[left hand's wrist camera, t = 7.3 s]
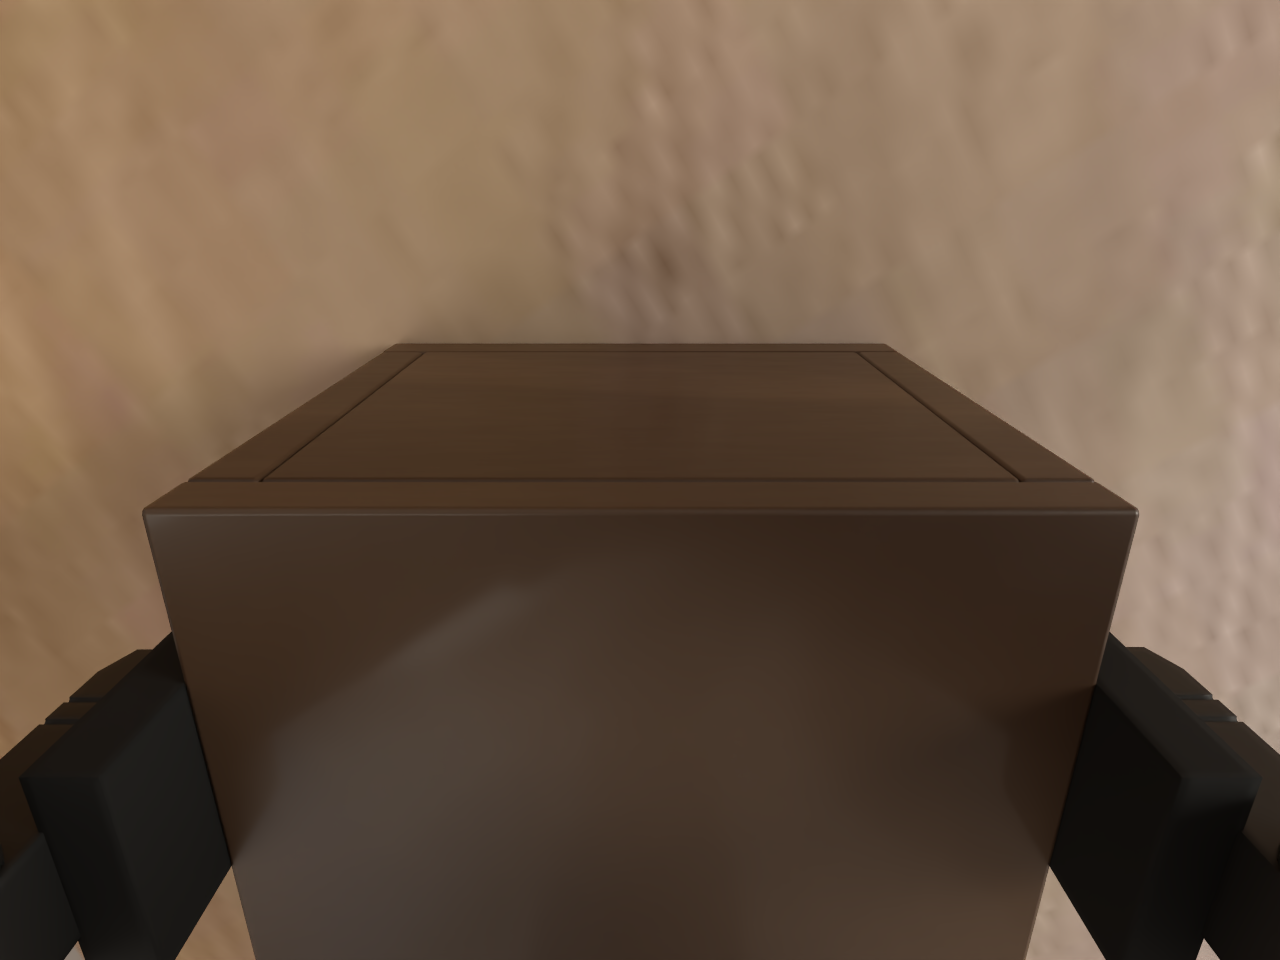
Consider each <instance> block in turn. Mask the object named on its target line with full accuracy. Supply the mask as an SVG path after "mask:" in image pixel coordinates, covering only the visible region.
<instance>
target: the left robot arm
mask: <svg viewBox="0 0 1280 960" xmlns="http://www.w3.org/2000/svg"><path fill="white" fill-rule="evenodd" d="M1236 718H1237V716H1236V715H1235V714H1233V713H1232V712H1231V711H1230V710H1229V709H1228V708H1227V707H1226V706H1224V705H1223V704H1222V703H1221V702H1220V701H1219V700H1213V698H1212V694H1211V693H1210V692H1209V691H1208V690H1206V689H1205V688H1204V687H1203V686H1202V685H1201V684H1200V683H1199V682H1197V681H1196V680H1195V679H1194V678H1193V677H1192V676H1191V675H1190V674H1188V673H1187V672H1186V671H1185V670H1184V669H1182V668H1181V667H1179V666H1177V665H1175V664H1173V663H1172V662H1170V661H1168V660H1166V659H1164V658H1163V657H1161V656H1159V655H1157V654H1155V653H1154V652H1152V651H1150V650H1148V649H1146V648H1145V647H1125V646H1124V645H1123V644H1122V643H1121V642H1120V641H1119V640H1118V639H1117V638H1115V637H1114V636H1113V635H1112V634H1111V633H1110V632H1109V635H1108V639H1107V642H1106V646H1105V650H1104V654H1103V658H1102V662H1101V666H1100V670H1099V674H1098V678H1097V682H1096V685H1095V689H1094V693H1093V697H1092V701H1091V705H1090V709H1089V713H1088V717H1087V721H1086V724H1085V728H1084V732H1083V736H1082V740H1081V744H1080V748H1079V752H1078V756H1077V760H1076V764H1075V767H1074V771H1073V775H1072V779H1071V783H1070V787H1069V791H1068V795H1067V799H1066V803H1065V807H1064V810H1063V814H1062V818H1061V822H1060V826H1059V830H1058V834H1057V838H1056V842H1055V846H1054V849H1053V853H1052V857H1051V861H1050V865H1049V866H1050V868H1051V869H1052V871H1053V873H1054V874H1055V876H1056V878H1057V879H1058V881H1059V883H1060V884H1061V886H1062V888H1063V889H1064V891H1065V893H1066V894H1067V896H1068V898H1069V899H1070V901H1071V903H1072V904H1073V906H1074V908H1075V909H1076V911H1077V913H1078V914H1079V916H1080V918H1081V919H1082V921H1083V923H1084V924H1085V926H1086V928H1087V929H1088V931H1089V933H1090V934H1091V936H1092V938H1093V939H1094V941H1095V943H1096V944H1097V946H1098V948H1099V949H1100V951H1101V953H1102V954H1103V956H1104V958H1105V959H1106V960H1196V958H1197V955H1198V952H1199V950H1200V947H1201V944H1202V942H1203V939H1205V940H1206V941H1207V943H1208V944H1209V945H1210V947H1211V948H1212V949H1213V951H1214V952H1215V953H1216V955H1217V956H1218V957H1219V959H1220V960H1280V755H1279V754H1278V753H1277V752H1276V751H1275V750H1274V749H1273V748H1272V747H1270V746H1269V745H1268V744H1267V743H1266V742H1265V741H1264V740H1263V739H1261V738H1260V737H1259V736H1258V735H1257V734H1256V733H1255V732H1254V731H1253V730H1251V729H1250V728H1249V727H1248V726H1247V725H1246V724H1245V723H1244V722H1238V721H1237V719H1236ZM45 720H46V721H45V724H44V725H38V726H37V727H36V728H35V729H34V730H33V731H31V732H30V733H29V734H28V735H27V736H26V737H25V738H24V739H23V740H21V741H20V742H19V743H18V744H17V745H16V746H15V747H14V748H12V749H11V750H10V751H9V752H8V753H7V754H6V755H5V756H4V757H2V758H1V759H0V960H64V959H65V957H66V956H67V955H68V954H69V952H70V951H71V949H72V948H73V947H74V945H75V944H76V943H77V941H79V944H80V947H81V950H82V952H83V955H84V958H85V960H175V959H176V957H177V956H178V954H179V952H180V951H181V949H182V947H183V946H184V944H185V942H186V941H187V939H188V937H189V936H190V934H191V932H192V931H193V929H194V927H195V926H196V924H197V922H198V921H199V919H200V917H201V916H202V914H203V912H204V911H205V909H206V907H207V906H208V904H209V902H210V901H211V899H212V897H213V896H214V894H215V892H216V891H217V889H218V887H219V886H220V884H221V882H222V881H223V879H224V877H225V876H226V874H227V872H228V871H229V869H230V867H231V866H232V865H231V861H230V857H229V853H228V849H227V845H226V841H225V837H224V833H223V829H222V825H221V822H220V818H219V814H218V810H217V806H216V802H215V798H214V794H213V790H212V786H211V782H210V778H209V775H208V771H207V767H206V763H205V759H204V755H203V751H202V747H201V743H200V739H199V735H198V732H197V728H196V724H195V720H194V716H193V712H192V708H191V704H190V700H189V696H188V692H187V688H186V685H185V681H184V677H183V673H182V669H181V665H180V661H179V657H178V653H177V649H176V645H175V642H174V638H173V634H172V632H171V633H170V634H169V635H167V636H166V637H165V638H164V639H163V640H162V641H161V642H160V643H159V644H158V645H157V646H156V647H155V648H154V649H153V650H136V651H134V652H132V653H131V654H129V655H127V656H125V657H123V658H122V659H120V660H118V661H116V662H115V663H113V664H111V665H109V666H107V667H106V668H104V669H102V670H100V671H98V672H97V673H96V674H95V675H94V676H93V677H92V678H91V679H89V680H88V681H87V682H86V683H85V684H84V685H83V686H82V687H81V688H79V689H78V690H77V691H76V692H75V693H74V694H73V695H72V696H70V700H69V702H68V703H63V704H62V705H60V706H59V707H58V708H57V709H56V710H55V711H54V712H53V713H52V714H50V715H49V716H48V717H47V718H46V719H45Z"/></svg>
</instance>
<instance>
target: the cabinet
mask: <svg viewBox="0 0 1280 960" xmlns="http://www.w3.org/2000/svg"><path fill="white" fill-rule="evenodd" d="M142 516H143V520H144V524H145V528H146V532H147V536H148V540H149V544H150V548H151V552H152V555H153V559H154V563H155V567H156V571H157V575H158V579H159V583H160V587H161V591H162V595H163V598H164V602H165V606H166V610H167V614H168V618H169V622H170V626H171V630H172V634H173V638H174V642H175V645H176V649H177V653H178V657H179V661H180V665H181V669H182V673H183V677H184V681H185V685H186V688H187V692H188V696H189V700H190V704H191V708H192V712H193V716H194V720H195V724H196V728H197V732H198V735H199V739H200V743H201V747H202V751H203V755H204V759H205V763H206V767H207V771H208V775H209V778H210V782H211V786H212V790H213V794H214V798H215V802H216V806H217V810H218V814H219V818H220V822H221V825H222V829H223V833H224V837H225V841H226V845H227V849H228V853H229V857H230V861H231V865H232V868H233V872H234V876H235V880H236V884H237V888H238V892H239V896H240V900H241V904H242V908H243V912H244V915H245V919H246V923H247V927H248V931H249V935H250V939H251V943H252V947H253V951H254V955H255V958H256V960H1025V959H1026V955H1027V951H1028V947H1029V943H1030V939H1031V935H1032V932H1033V928H1034V924H1035V920H1036V916H1037V912H1038V908H1039V904H1040V900H1041V896H1042V892H1043V889H1044V885H1045V881H1046V877H1047V873H1048V869H1049V865H1050V861H1051V857H1052V853H1053V849H1054V846H1055V842H1056V838H1057V834H1058V830H1059V826H1060V822H1061V818H1062V814H1063V810H1064V807H1065V803H1066V799H1067V795H1068V791H1069V787H1070V783H1071V779H1072V775H1073V771H1074V767H1075V764H1076V760H1077V756H1078V752H1079V748H1080V744H1081V740H1082V736H1083V732H1084V728H1085V724H1086V721H1087V717H1088V713H1089V709H1090V705H1091V701H1092V697H1093V693H1094V689H1095V685H1096V682H1097V678H1098V674H1099V670H1100V666H1101V662H1102V658H1103V654H1104V650H1105V646H1106V642H1107V639H1108V635H1109V631H1110V627H1111V623H1112V619H1113V615H1114V611H1115V607H1116V603H1117V599H1118V596H1119V592H1120V588H1121V584H1122V580H1123V576H1124V572H1125V568H1126V564H1127V560H1128V557H1129V553H1130V549H1131V545H1132V541H1133V537H1134V533H1135V529H1136V525H1137V521H1138V517H1139V511H1138V509H1137V508H1136V507H1134V506H1133V505H1131V504H1130V503H1128V502H1127V501H1125V500H1124V499H1122V498H1121V497H1119V496H1117V495H1116V494H1114V493H1113V492H1111V491H1110V490H1108V489H1107V488H1105V487H1104V486H1102V485H1101V484H1099V483H1096V482H1094V480H1093V479H1092V478H1091V477H1089V476H1088V475H1086V474H1084V473H1083V472H1081V471H1080V470H1078V469H1077V468H1075V467H1074V466H1072V465H1071V464H1069V463H1068V462H1066V461H1064V460H1063V459H1061V458H1060V457H1058V456H1057V455H1055V454H1054V453H1052V452H1051V451H1049V450H1048V449H1046V448H1044V447H1043V446H1041V445H1040V444H1038V443H1037V442H1035V441H1034V440H1032V439H1031V438H1029V437H1028V436H1026V435H1024V434H1023V433H1021V432H1020V431H1018V430H1017V429H1015V428H1014V427H1012V426H1011V425H1009V424H1008V423H1006V422H1004V421H1003V420H1001V419H1000V418H998V417H997V416H995V415H994V414H992V413H991V412H989V411H988V410H986V409H984V408H983V407H981V406H980V405H978V404H977V403H975V402H974V401H972V400H971V399H969V398H968V397H966V396H964V395H963V394H961V393H960V392H958V391H957V390H955V389H954V388H952V387H951V386H949V385H948V384H946V383H944V382H943V381H941V380H940V379H938V378H937V377H935V376H934V375H932V374H931V373H929V372H928V371H926V370H924V369H923V368H921V367H920V366H918V365H917V364H915V363H914V362H912V361H911V360H909V359H908V358H906V357H904V356H903V355H901V354H900V353H898V352H897V351H895V350H894V349H892V348H891V347H889V346H888V345H886V344H395V345H393V346H392V347H390V348H389V349H387V350H386V351H384V353H382V354H380V355H379V356H377V357H376V358H374V359H373V360H371V361H370V362H368V363H366V364H365V365H363V366H362V367H360V368H359V369H357V370H356V371H354V372H353V373H351V374H350V375H348V376H346V377H345V378H343V379H342V380H340V381H339V382H337V383H336V384H334V385H333V386H331V387H330V388H328V389H327V390H325V391H323V392H322V393H320V394H319V395H317V396H316V397H314V398H313V399H311V400H310V401H308V402H307V403H305V404H304V405H302V406H300V407H299V408H297V409H296V410H294V411H293V412H291V413H290V414H288V415H287V416H285V417H284V418H282V419H280V420H279V421H277V422H276V423H274V424H273V425H271V426H270V427H268V428H267V429H265V430H264V431H262V432H261V433H259V434H257V435H256V436H254V437H253V438H251V439H250V440H248V441H247V442H245V443H244V444H242V445H241V446H239V447H238V448H236V449H234V450H233V451H231V452H230V453H228V454H227V455H225V456H224V457H222V458H221V459H219V460H218V461H216V462H214V463H213V464H211V465H210V466H208V467H207V468H205V469H204V470H202V471H201V472H199V473H198V474H196V475H195V476H193V477H191V478H190V479H189V481H188V482H185V483H182V484H180V485H179V486H177V487H176V488H174V489H173V490H171V491H170V492H168V493H167V494H165V495H164V496H162V497H160V498H159V499H157V500H156V501H154V502H153V503H151V504H150V505H148V506H147V507H145V508H144V509H143V513H142Z"/></svg>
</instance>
